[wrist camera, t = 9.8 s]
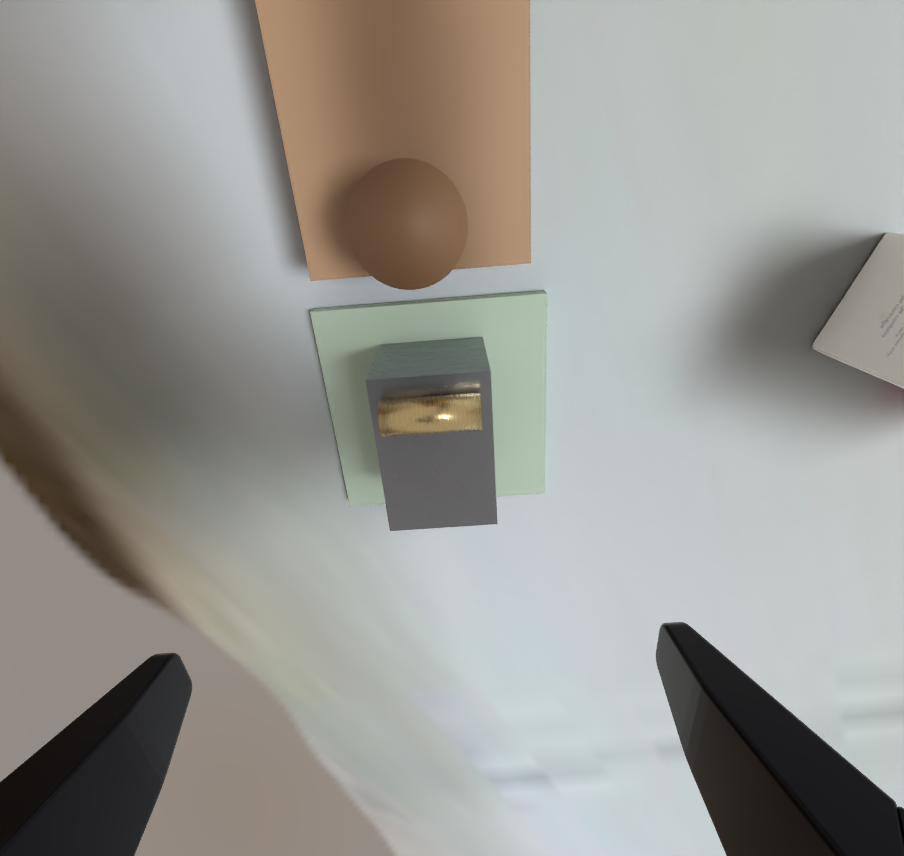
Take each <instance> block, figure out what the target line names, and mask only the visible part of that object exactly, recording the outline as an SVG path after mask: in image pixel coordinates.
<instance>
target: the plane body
mask: <svg viewBox="0 0 904 856" xmlns="http://www.w3.org/2000/svg"><path fill="white" fill-rule="evenodd" d="M255 4H256V9H257V14H258V19H259V24H260V29H261V34H262V39H263V44H264V49H265V54H266V59H267V64H268V69H269V74H270V79H271V84H272V89H273V94H274V99H275V104H276V109H277V115H278V120H279V125H280V130H281V135H282V140H283V145H284V150H285V155H286V160H287V165H288V170H289V175H290V180H291V185H292V190H293V195H294V200H295V205H296V210H297V215H298V220H299V225H300V230H301V235H302V240H303V245H304V250H305V255H306V260H307V265H308V270H309V275H310V280H311V281H315V280H327V279H340V278H352V277H365V276H373V277H374V278H375V279H377V280H378V281H380V282H382V283H384V284H386V285H388V286H391V287H394V288H398V289H405V290H414V289H421V288H425V287H428V286H431V285H433V284H435V283H437V282H439V281H440V280H442V279H443V278H444V277H446V276H447V275H448V274H449V273H450V272H451V271H452V270H453V269H465V268H477V267H490V266H502V265H515V264H527V263H531V187H530V0H255Z"/></svg>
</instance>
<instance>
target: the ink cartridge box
mask: <svg viewBox="0 0 904 856" xmlns="http://www.w3.org/2000/svg"><path fill="white" fill-rule="evenodd" d="M812 347H813V349H814V350H816V351H818V352H820V353H822V354H824V355H827V356H829V357H831V358H833V359H836V360H838V361H840V362H843V363H845V364H847V365H850V366H852V367H854V368H857V369H859V370H861V371H864V372H866V373H869V374H871V375H873V376H875V377H878V378H880V379H882V380H885V381H887V382H889V383H892V384H894V385H896V386H899V387H901V388H903V389H904V234H896V233H887V234H885V235H884V236H883V238H882V239H881V241H880V242H879V244H878V245H877V247H876V248H875V250H874V251H873V253H872V254H871V256H870V257H869V259H868V261H867V262H866V264H865V265H864V267H863V268H862V270H861V271H860V273H859V274H858V276H857V277H856V279H855V280H854V282H853V283H852V285H851V287H850V288H849V290H848V291H847V293H846V294H845V296H844V297H843V299H842V300H841V302H840V303H839V305H838V306H837V308H836V309H835V311H834V312H833V314H832V315H831V317H830V319H829V320H828V322H827V323H826V325H825V326H824V328H823V329H822V331H821V332H820V334H819V335H818V337H817V338H816V340H815V341H814V343H813V346H812Z"/></svg>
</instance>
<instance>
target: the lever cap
mask: <svg viewBox="0 0 904 856" xmlns="http://www.w3.org/2000/svg"><path fill="white" fill-rule="evenodd" d="M365 381H366V387H367V393H368V400H369V406H370V412H371V418H372V424H373V430H374V436H375V442H376V448H377V454H378V460H379V466H380V472H381V479H382V485H383V491H384V497H385V503H386V509H387V515H388V521H389V527H390V531H397V530H412V529H427V528H443V527H458V526H473V525H488V524H497V506H496V483H495V459H494V435H493V411H492V388H491V370H490V365H489V361H488V357H487V353H486V349H485V344H484V340H483V337H470V338H456V339H443V340H430V341H417V342H404V343H391V344H381V345H380V348H379V350H378V352H377V354H376V357H375V359H374V361H373V364H372V366H371V368H370V371H369V373H368V375H367V377H366V380H365Z"/></svg>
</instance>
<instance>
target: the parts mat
mask: <svg viewBox="0 0 904 856" xmlns="http://www.w3.org/2000/svg"><path fill="white" fill-rule="evenodd" d="M310 314H311V319H312V324H313V329H314V334H315V338H316V343H317V348H318V353H319V358H320V363H321V368H322V373H323V378H324V382H325V387H326V392H327V397H328V402H329V407H330V412H331V417H332V421H333V426H334V431H335V436H336V441H337V446H338V451H339V456H340V461H341V465H342V470H343V475H344V480H345V485H346V490H347V495H348V500H349V504H350V506H364V505H378V504H386V503H385V497H384V491H383V485H382V479H381V472H380V466H379V460H378V454H377V448H376V442H375V436H374V430H373V424H372V418H371V412H370V406H369V400H368V393H367V387H366V381H365V380H366V377H367V375H368V373H369V371H370V368H371V366H372V364H373V361H374V359H375V357H376V354H377V352H378V350H379V348H380V345H381V344H391V343H404V342H417V341H430V340H443V339H456V338H470V337H483V340H484V344H485V349H486V353H487V357H488V361H489V365H490V370H491V388H492V411H493V435H494V459H495V483H496V497H497V496H512V495H527V494H542V493H545V425H546V333H547V293H546V292H545V291H544V290H543V291H530V292H518V293H505V294H492V295H479V296H467V297H454V298H441V299H428V300H416V301H403V302H390V303H378V304H365V305H352V306H339V307H327V308H314V309H313V310H312V311H311V312H310Z"/></svg>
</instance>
